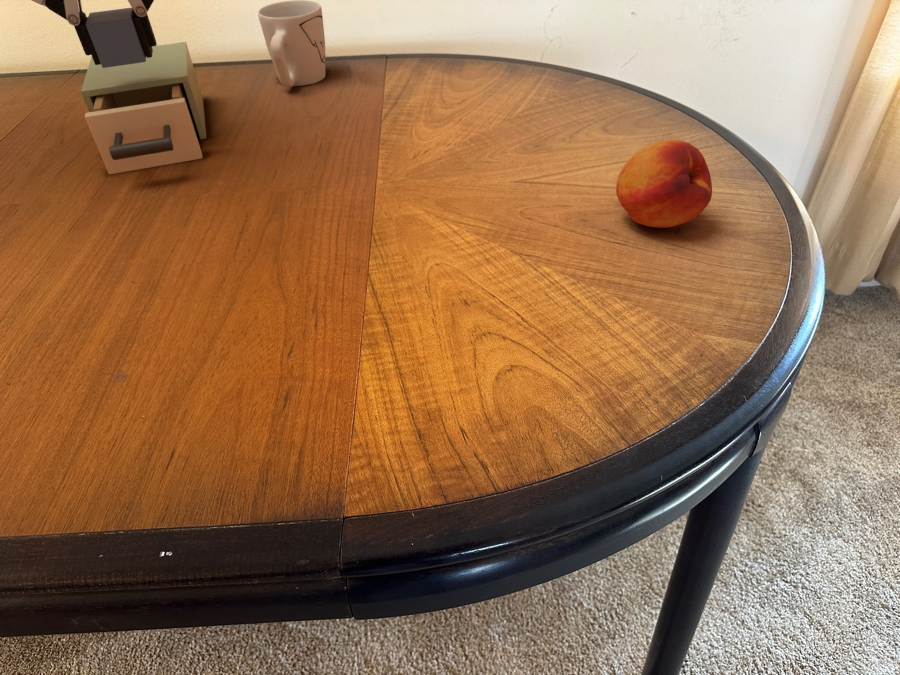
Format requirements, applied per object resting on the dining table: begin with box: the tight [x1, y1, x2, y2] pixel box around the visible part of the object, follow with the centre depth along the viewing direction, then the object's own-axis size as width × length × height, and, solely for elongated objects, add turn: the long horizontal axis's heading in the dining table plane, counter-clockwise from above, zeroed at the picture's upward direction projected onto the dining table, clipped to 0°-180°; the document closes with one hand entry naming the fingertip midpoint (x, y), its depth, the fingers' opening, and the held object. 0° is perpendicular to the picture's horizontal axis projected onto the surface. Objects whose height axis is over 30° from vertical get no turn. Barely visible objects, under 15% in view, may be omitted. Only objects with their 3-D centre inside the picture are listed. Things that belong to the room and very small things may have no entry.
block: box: [86, 7, 146, 68], centre depth 69 cm, size 4×4×4 cm
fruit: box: [615, 139, 713, 229], centre depth 59 cm, size 8×8×8 cm
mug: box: [257, 0, 326, 88], centre depth 89 cm, size 11×8×10 cm
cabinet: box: [80, 41, 207, 140], centre depth 80 cm, size 13×11×8 cm
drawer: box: [84, 83, 203, 175], centre depth 74 cm, size 18×10×7 cm, turn 18°
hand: (124, 55), depth 71 cm, fingers closed on block, 4 cm apart
